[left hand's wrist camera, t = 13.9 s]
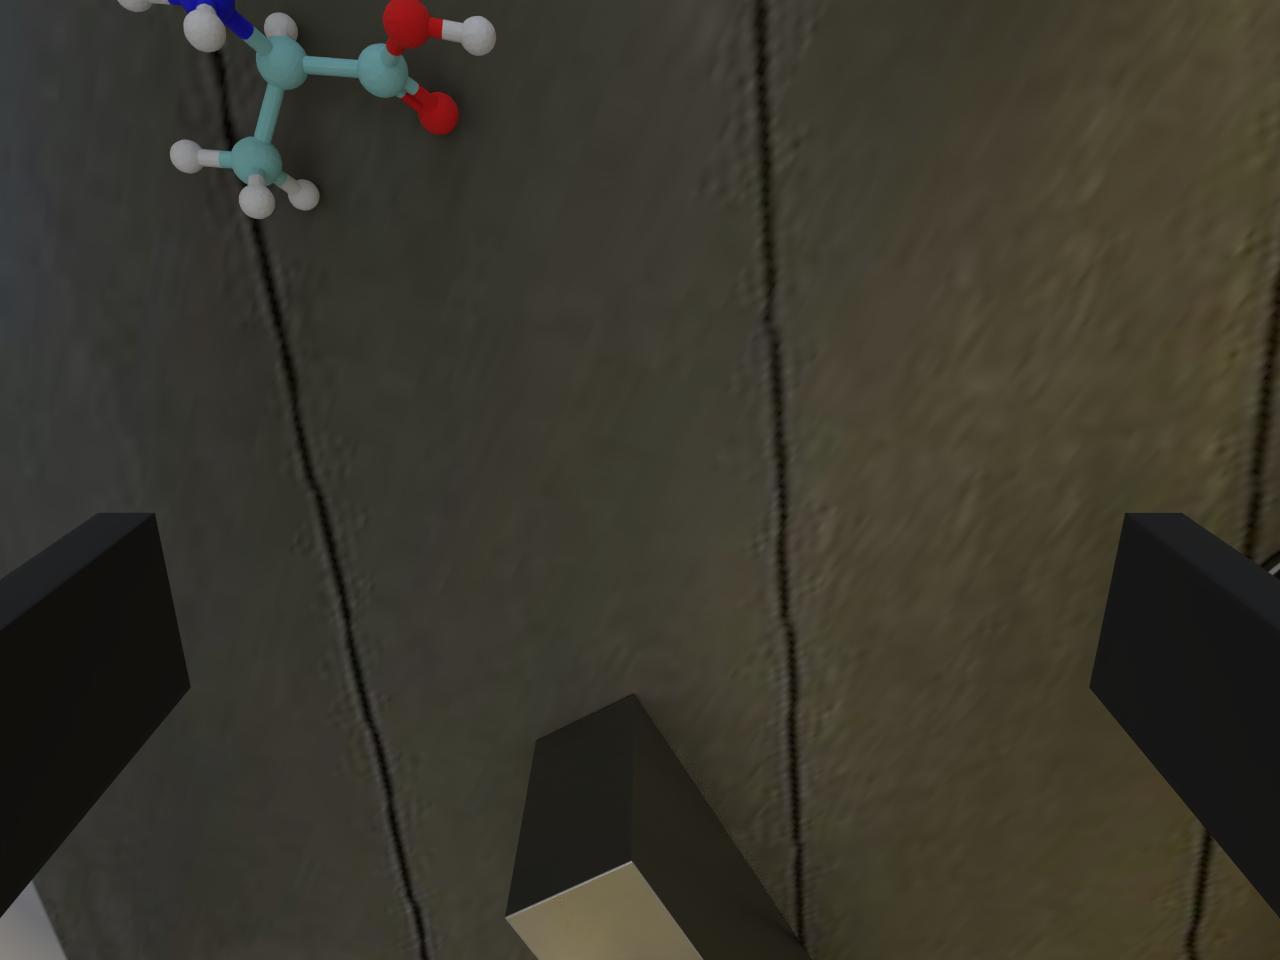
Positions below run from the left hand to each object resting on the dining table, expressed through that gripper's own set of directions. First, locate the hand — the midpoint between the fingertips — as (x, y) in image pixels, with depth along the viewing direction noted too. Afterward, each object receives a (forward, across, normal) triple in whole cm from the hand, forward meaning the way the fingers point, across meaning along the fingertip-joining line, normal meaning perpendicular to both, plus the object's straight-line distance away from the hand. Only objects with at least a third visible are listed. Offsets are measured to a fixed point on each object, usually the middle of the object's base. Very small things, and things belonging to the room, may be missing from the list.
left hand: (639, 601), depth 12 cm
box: (+28, +4, -34) cm, 44 cm away
